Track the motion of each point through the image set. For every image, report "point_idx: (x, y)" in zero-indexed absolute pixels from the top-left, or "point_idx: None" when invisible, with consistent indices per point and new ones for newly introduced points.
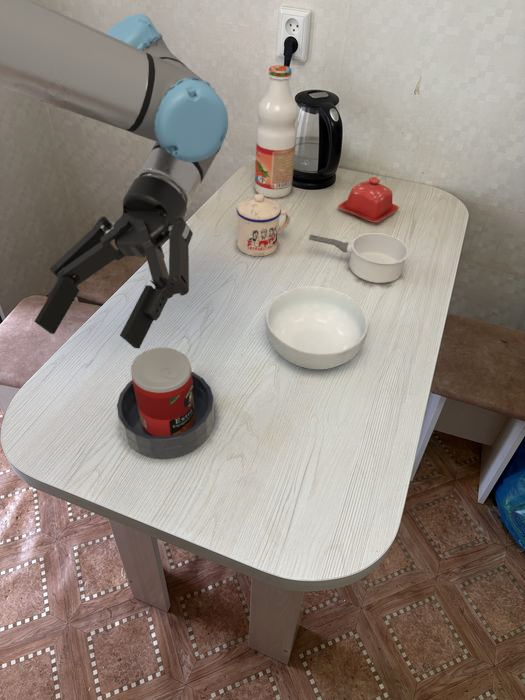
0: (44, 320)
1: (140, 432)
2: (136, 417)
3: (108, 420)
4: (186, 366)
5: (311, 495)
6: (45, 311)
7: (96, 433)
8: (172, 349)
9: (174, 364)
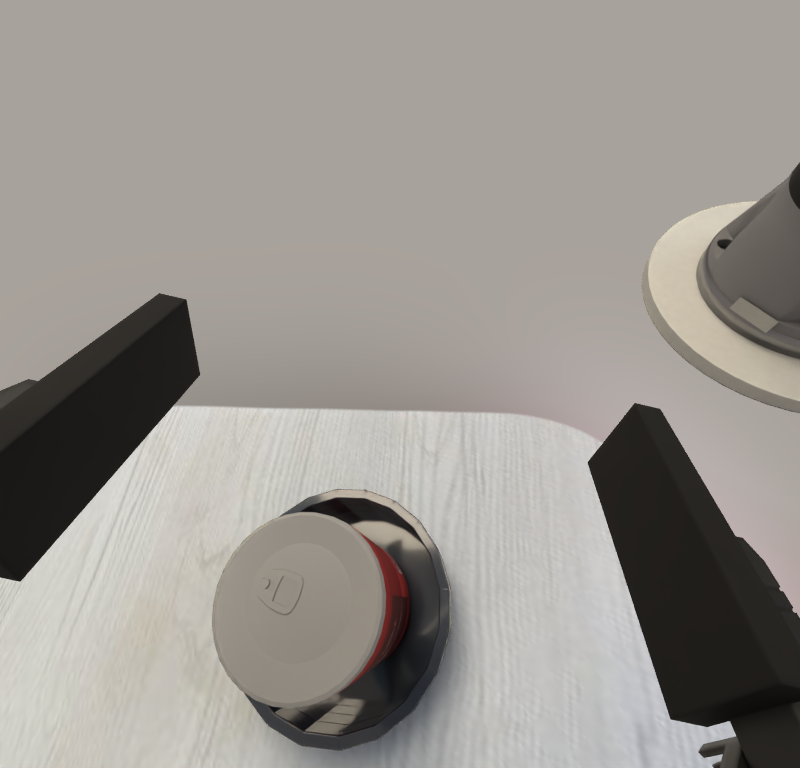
0: (631, 433)
1: (358, 497)
2: (420, 584)
3: (473, 561)
4: (225, 631)
5: (96, 523)
6: (654, 445)
7: (477, 522)
8: (281, 702)
9: (266, 635)
